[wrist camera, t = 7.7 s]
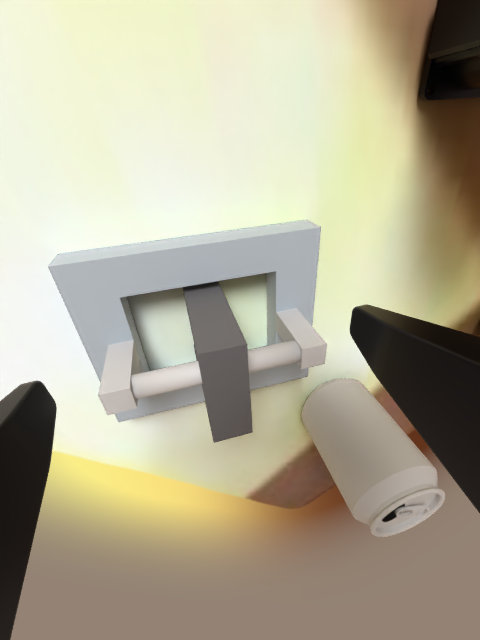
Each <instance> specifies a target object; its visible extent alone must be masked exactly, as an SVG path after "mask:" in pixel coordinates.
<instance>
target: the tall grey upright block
mask: <svg viewBox="0 0 480 640" xmlns="http://www.w3.org/2000/svg"><path fill="white" fill-rule="evenodd" d="M183 290H184V296H185V301H186V306H187V311H188V315H189V320H190V325H191V330H192V334H193V339H194V348H195V354H196V359H197V361H198V363H199V368H200V374H201V379H202V388H203V393H204V397H205V402H206V407H207V412H208V417H209V422H210V426H211V431H212V436H213V441H214V443H215V442H218V441H222V440H226V439H229V438H233V437H237V436H241V435H244V434H248V433H252V432H253V431H252V415H251V399H250V383H249V367H248V351H247V343H246V341H245V339H244V337H243V334H242V332H241V330H240V328H239V326H238V324H237V321H236V319H235V317H234V315H233V313H232V311H231V309H230V306H229V304H228V302H227V300H226V298H225V296H224V294H223V291H222V289H221V287H220V285H219V283H218V281H215V282H209V283H203V284H197V285H192V286H186V287H183Z"/></svg>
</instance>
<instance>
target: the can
mask: <svg viewBox="0 0 480 640" xmlns="http://www.w3.org/2000/svg"><path fill="white" fill-rule="evenodd" d="M301 417H302V421H303V423H304V425H305V427H306V429H307V431H308V433H309V435H310V436H311V438H312V440H313V442H314V444H315V446H316V448H317V449H318V451H319V453H320V455H321V457H322V459H323V461H324V463H325V464H326V466H327V468H328V470H329V472H330V474H331V476H332V478H333V479H334V481H335V483H336V485H337V487H338V489H339V490H340V492H341V494H342V496H343V498H344V500H345V502H346V504H347V506H348V507H349V509H350V511H351V513H352V515H353V516H354V517H355V519H356V520H359V521H361V522H363V523H365V524H367V525H369V526H370V527H371V528H370V531H371V533H372V534H373V535H375V536H378V537H386V536H391V535H394V534H398V533H400V532H403V531H405V530H408V529H410V528H412V527H414V526H415V525H417V524H419V523H421V522H422V521H424V520H425V519H427V518H428V517H429V516H431V515H432V514H433V513H434V512H436V511H437V509H438V508H439V507H440V506H441V505H442V504H443V502H444V500H445V492H444V491H443V490H441V489H439V488H438V485H437V470H436V469H435V467H434V466H433V465H432V464H431V463H430V462H429V460H428V459H427V458H426V457H425V456H424V455H423V453H422V452H421V451H420V450H419V449H418V448H417V447H416V445H415V444H414V443H413V442H412V441H411V440H410V439H409V437H408V436H407V435H406V434H405V432H404V431H403V430H402V429H401V428H400V427H399V425H398V424H397V423H396V422H395V421H394V420H393V419H392V417H391V416H390V415H389V414H388V413H387V412H386V410H385V409H384V408H383V407H382V406H381V405H380V403H379V402H378V401H377V400H376V399H375V398H374V396H373V395H372V394H371V393H370V392H369V391H368V389H367V388H366V387H365V386H364V385H363V384H362V383H361V382H359V381H358V380H354V379H333V380H330V381H327V382H325V383H323V384H322V385H320V386H318V387H317V388H316V389H315V390H313V391H312V392H311V394H310V395H309V396H308V398H307V399H306V402H305V404H304V406H303V409H302V412H301Z"/></svg>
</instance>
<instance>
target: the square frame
mask: <svg viewBox="0 0 480 640" xmlns="http://www.w3.org/2000/svg"><path fill="white" fill-rule="evenodd" d="M320 232H321V227H320V226H318V225H316V224H314V223H312V222H310V221H308V220H302V221H295V222H288V223H280V224H273V225H266V226H259V227H251V228H244V229H237V230H230V231H222V232H215V233H208V234H201V235H194V236H186V237H179V238H172V239H165V240H157V241H150V242H143V243H136V244H129V245H121V246H114V247H107V248H100V249H92V250H85V251H78V252H71V253H63V254H58V255H57V256H56V257H55V258H54V260H53V261H52V262H51V263H50V265H49V266H48V268H49V270H50V272H51V274H52V277H53V279H54V281H55V283H56V285H57V288H58V290H59V292H60V294H61V296H62V299H63V301H64V303H65V305H66V307H67V310H68V312H69V314H70V316H71V318H72V321H73V323H74V325H75V327H76V330H77V332H78V334H79V336H80V338H81V341H82V343H83V345H84V347H85V349H86V352H87V354H88V356H89V358H90V360H91V363H92V365H93V367H94V369H95V371H96V374H97V376H98V378H99V380H100V383H101V384H100V389H99V393H98V396H99V398H100V400H101V402H102V404H103V406H104V409H105V411H106V413H107V415H110V414H115V416H116V418H117V420H118V422H122V421H126V420H130V419H134V418H138V417H142V416H147V415H151V414H155V413H159V412H163V411H167V410H171V409H175V408H180V407H184V406H188V405H192V404H196V403H200V402H204V401H205V397H204V393H203V388H202V379H201V374H200V368H199V363H198V361H194V362H189V363H185V364H180V365H175V366H171V367H166V368H162V369H157V370H152V371H149V367H148V364H147V361H146V358H145V355H144V352H143V348H142V345H141V342H140V339H139V336H138V333H137V329H136V326H135V323H134V320H133V317H132V313H131V310H130V307H129V304H128V301H127V298H126V297H127V296H132V295H138V294H144V293H150V292H156V291H162V290H168V289H174V288H180V287H186V286H192V285H197V284H203V283H209V282H215V281H221V280H227V279H233V278H239V277H245V276H251V275H257V274H263V273H267V343H268V346H263V347H259V348H254V349H249V350H247V351H248V367H249V383H250V390H254V389H258V388H262V387H266V386H270V385H274V384H278V383H283V382H287V381H291V380H295V379H299V378H303V377H307V376H308V368H309V367H313V366H317V365H322V364H325V356H326V348H327V343H326V342H325V341H324V340H323V339H322V337H321V336H320V335H319V334H318V333H317V332H316V330H315V329H314V328H313V327H312V323H313V311H314V300H315V289H316V277H317V266H318V255H319V244H320Z"/></svg>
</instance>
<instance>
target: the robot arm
mask: <svg viewBox="0 0 480 640" xmlns="http://www.w3.org/2000/svg"><path fill="white" fill-rule="evenodd" d="M429 87H430V93H429V94H428V89H429ZM419 96H420V99H421V100H422V101H433V100H448V99H464V98H479V97H480V0H439V4H438V9H437V13H436V18H435V22H434V27H433V32H432V36H431V41H430V45H429V50H428V55H427V59H426V64H425V68H424V73H423V78H422V82H421V87H420V92H419ZM350 334H351V336H352V338H353V340H354V342H355V343H356V345H357V347H358V348H359V350H360V352H361V353H362V355H363V357H364V358H365V360H366V361H367V363H368V365H369V366H370V368H371V370H372V371H373V373H374V374H375V376H376V377H377V379H378V380H379V381H380V383H381V384H382V385H383V387H384V388H385V389H386V391H387V392H388V393H389V395H390V396H391V397H392V399H393V400H394V401H395V402H396V404H397V405H398V406H399V408H400V409H401V410H402V412H403V413H404V414H405V416H406V417H407V418H408V420H409V421H410V422H411V424H412V425H413V426H414V428H415V429H416V430H417V431H418V433H419V434H420V435H421V437H422V438H423V439H424V441H425V442H426V443H427V445H428V446H429V447H430V449H431V450H432V451H433V453H434V454H435V455H436V456H437V458H438V459H439V460H440V462H441V463H442V464H443V465H444V467H445V468H446V470H447V471H448V472H449V474H450V475H451V476H452V477H453V479H454V480H455V481H456V483H457V484H458V485H459V487H460V488H461V489H462V491H463V492H464V493H465V495H466V496H467V497H468V499H469V500H470V501H471V503H472V504H473V505H474V507H475V508H476V509H477V510H478V512H479V513H480V337H478V336H475V335H471V334H468V333H464V332H461V331H457V330H454V329H451V328H447V327H444V326H440V325H437V324H433V323H430V322H426V321H423V320H419V319H416V318H412V317H409V316H405V315H402V314H399V313H395V312H392V311H388V310H385V309H381V308H378V307H374V306H371V305H362V306H357V307H355V308H354V309H353V311H352V317H351V324H350ZM55 419H56V403H55V401H54V399H53V398H52V396H51V395H50V393H49V392H48V390H47V389H46V387H45V386H44V384H43V383H42V382H40V381H33V382H28V383H24V384H21V385H20V386H18V387H17V388H16V389H15V390H13V391H12V392H11V393H10V394H9V395H7V396H6V397H5V398H4V399H2V400H1V401H0V640H10V638H11V634H12V630H13V625H14V621H15V616H16V612H17V608H18V603H19V599H20V595H21V590H22V585H23V582H24V577H25V573H26V569H27V564H28V560H29V556H30V551H31V547H32V542H33V538H34V533H35V529H36V525H37V521H38V516H39V512H40V508H41V503H42V499H43V494H44V490H45V486H46V481H47V477H48V473H49V468H50V462H51V455H52V447H53V437H54V428H55Z"/></svg>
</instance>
